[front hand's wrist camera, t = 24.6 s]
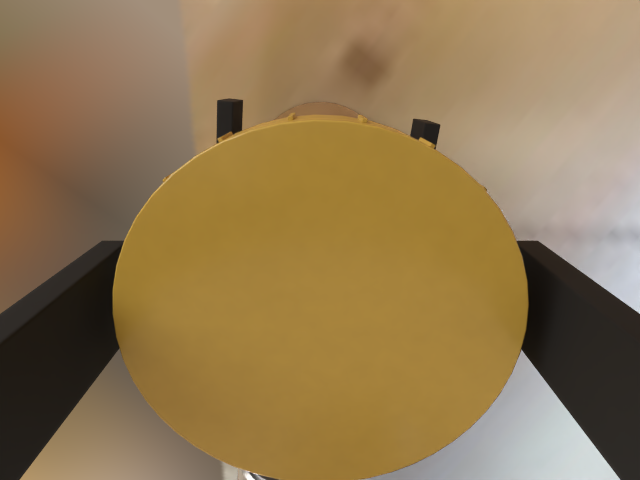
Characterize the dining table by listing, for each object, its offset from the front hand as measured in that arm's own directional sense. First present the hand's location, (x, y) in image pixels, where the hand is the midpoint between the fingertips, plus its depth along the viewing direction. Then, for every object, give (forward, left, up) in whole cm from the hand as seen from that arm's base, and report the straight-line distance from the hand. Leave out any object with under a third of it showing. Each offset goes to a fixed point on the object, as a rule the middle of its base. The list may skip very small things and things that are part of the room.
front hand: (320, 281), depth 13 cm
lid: (0, 0, +3) cm, 3 cm away
